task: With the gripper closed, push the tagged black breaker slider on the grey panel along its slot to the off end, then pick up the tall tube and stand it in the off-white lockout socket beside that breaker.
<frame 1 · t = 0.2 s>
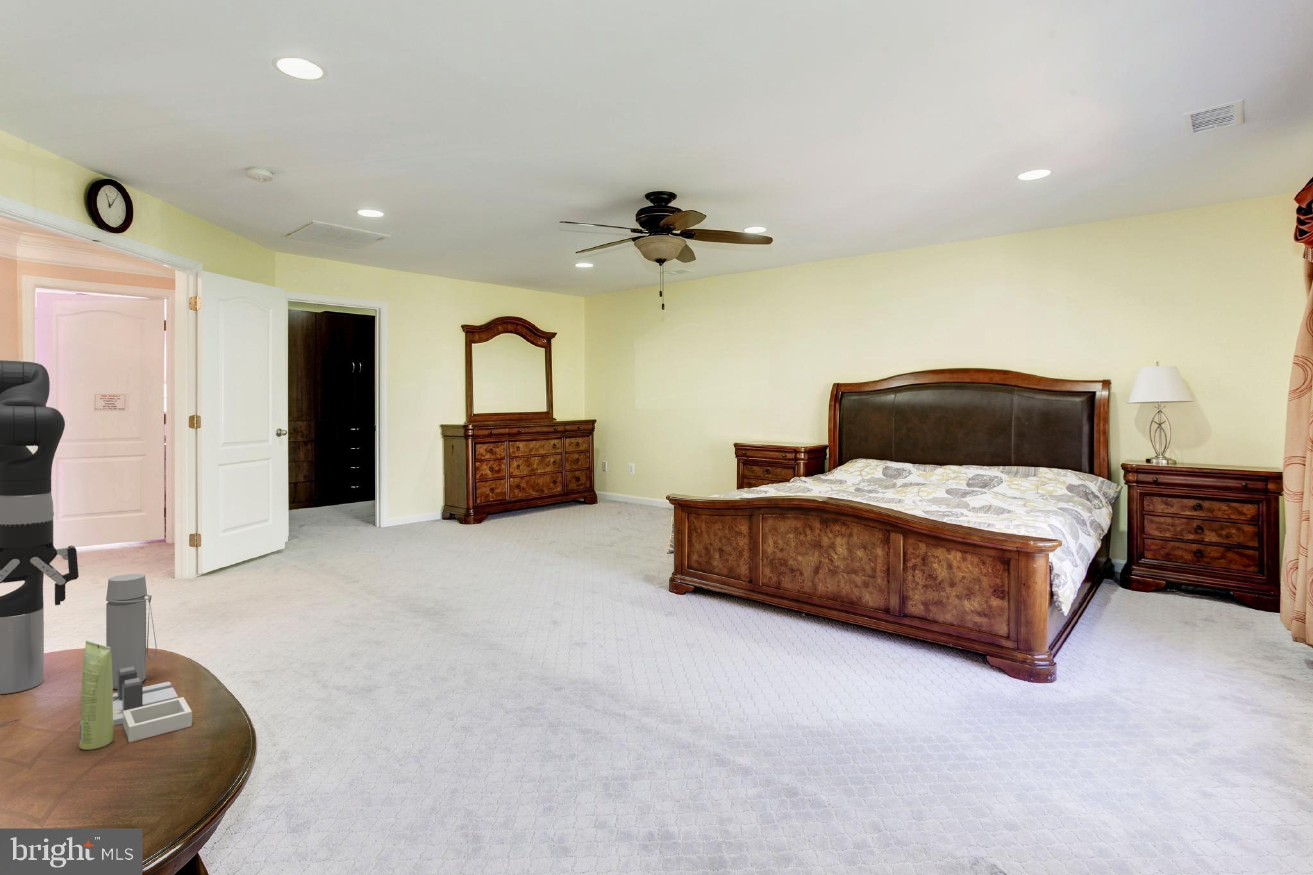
hand: (25, 608, 117), 28 cm above the table, tool pointing down, fingers open, 8 cm apart
breaker panel: (142, 704, 142), on the table
breaker 1: (127, 681, 143), point 4 cm above the table, slide at 0.0 cm
water bottle: (131, 684, 152), on the table
tube: (96, 745, 125), on the table
breaker 2: (132, 694, 137), point 4 cm above the table, slide at 0.0 cm
lockout socket: (157, 725, 133), on the table
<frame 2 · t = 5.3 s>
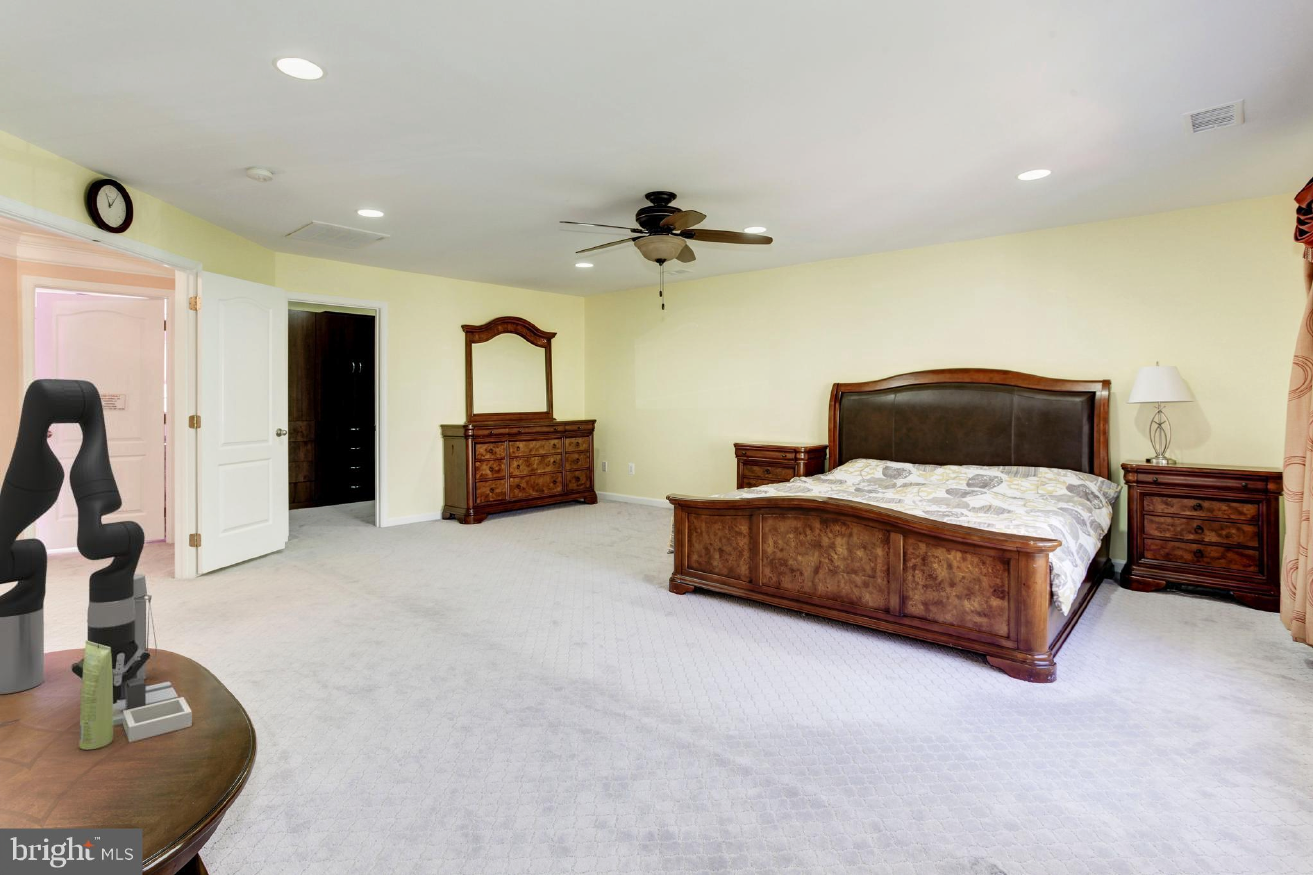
hand: (111, 702, 135), 4 cm above the table, tool pointing down, fingers closed
breaker 2: (135, 693, 137), point 4 cm above the table, slide at 0.5 cm, touching gripper
everything else where it was.
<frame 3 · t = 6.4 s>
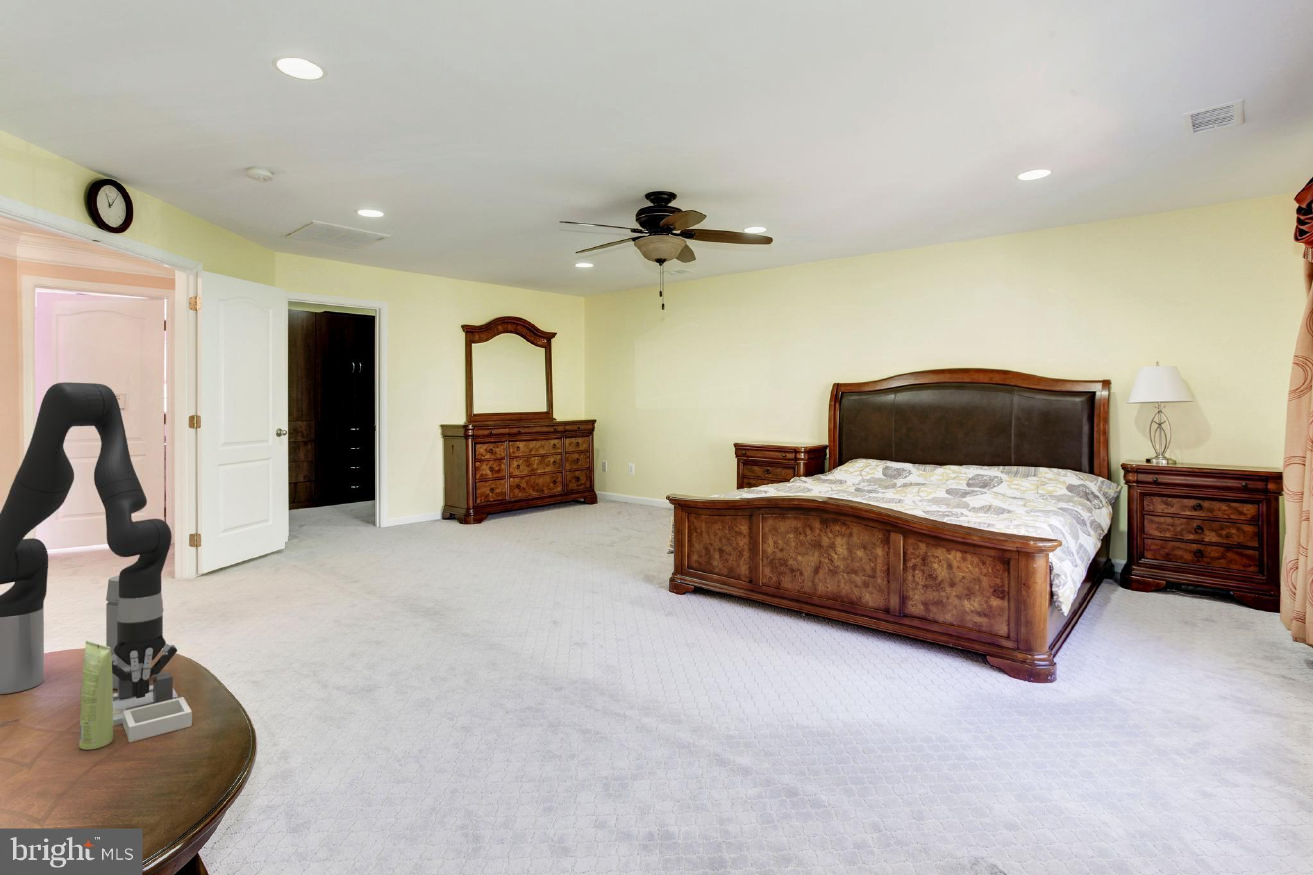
hand: (140, 696, 138), 4 cm above the table, tool pointing down, fingers closed
breaker 2: (162, 687, 141), point 4 cm above the table, slide at 5.1 cm, touching gripper
everything else where it was.
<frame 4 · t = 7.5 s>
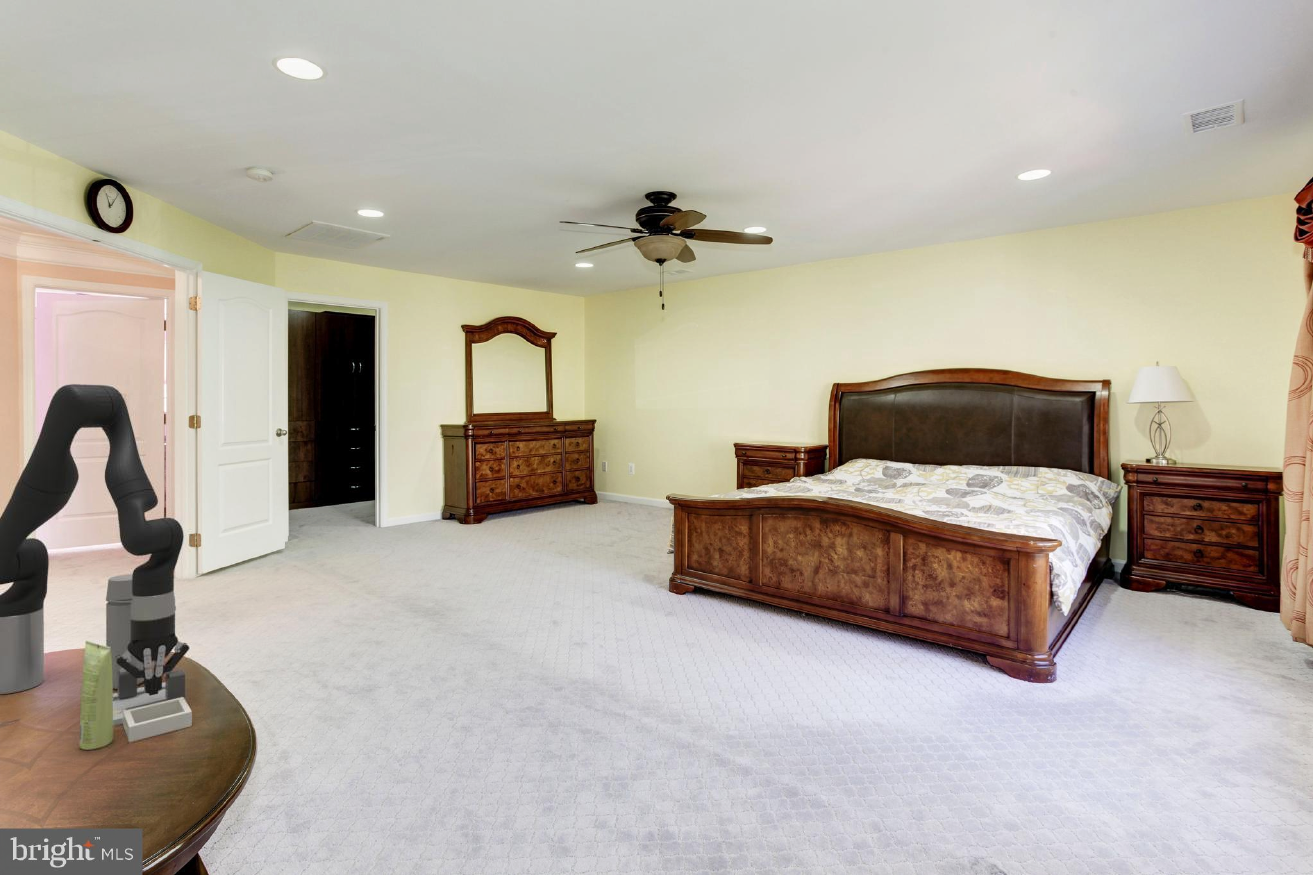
hand: (153, 693, 139), 4 cm above the table, tool pointing down, fingers closed
breaker 2: (175, 684, 142), point 4 cm above the table, slide at 7.3 cm, touching gripper
everything else where it was.
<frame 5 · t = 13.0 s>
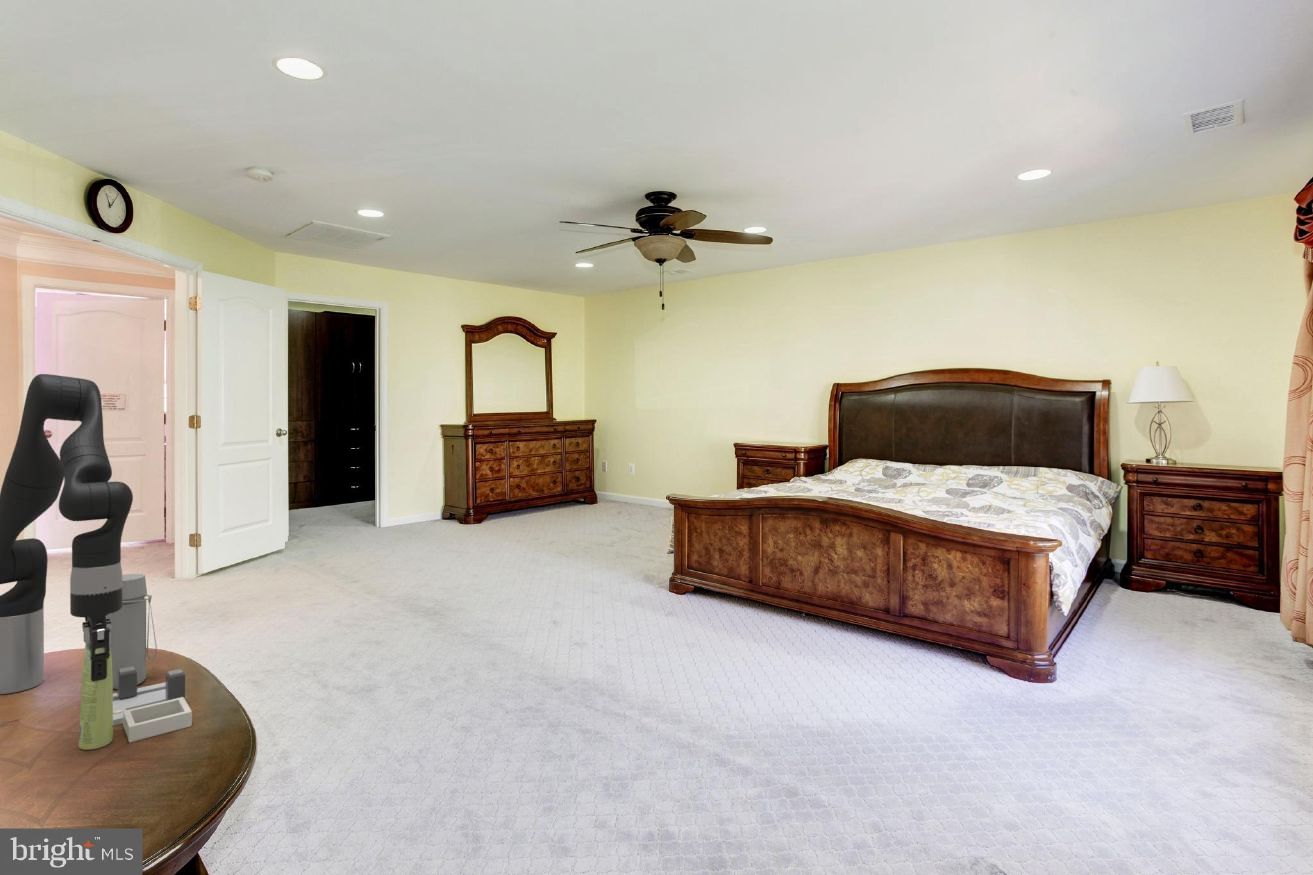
hand: (96, 673, 125), 14 cm above the table, tool pointing down, fingers closed on tube, 6 cm apart
tube: (96, 745, 125), on the table, touching gripper
breaker 2: (175, 684, 142), point 4 cm above the table, slide at 7.3 cm
everything else where it was.
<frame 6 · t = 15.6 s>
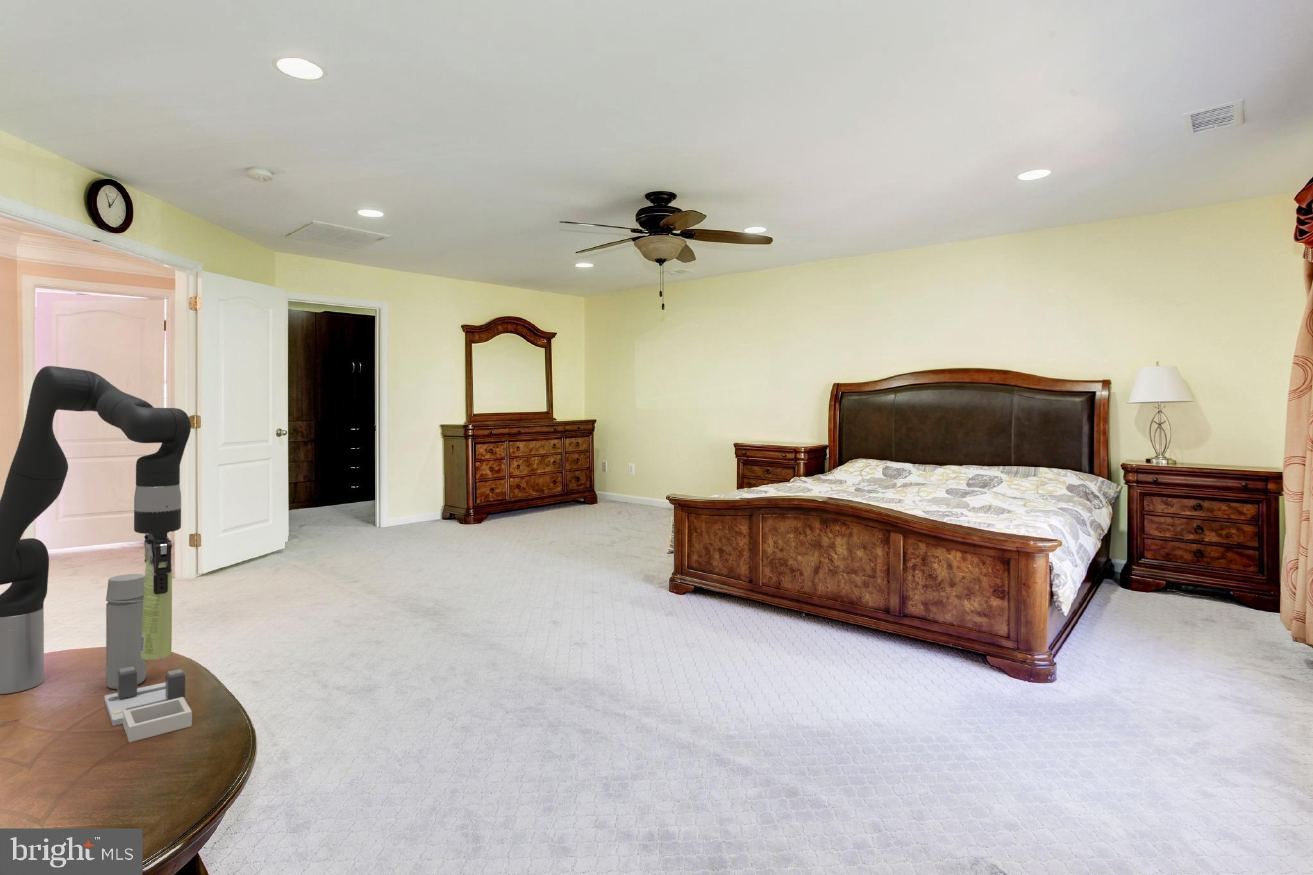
hand: (157, 589, 132), 28 cm above the table, tool pointing down, fingers closed on tube, 6 cm apart
tube: (156, 657, 132), point 14 cm above the table, touching gripper
everything else where it was.
when the fingers open (15 cm above the table, at t = 18.5 s): tube drops 1 cm, resting in lockout socket.
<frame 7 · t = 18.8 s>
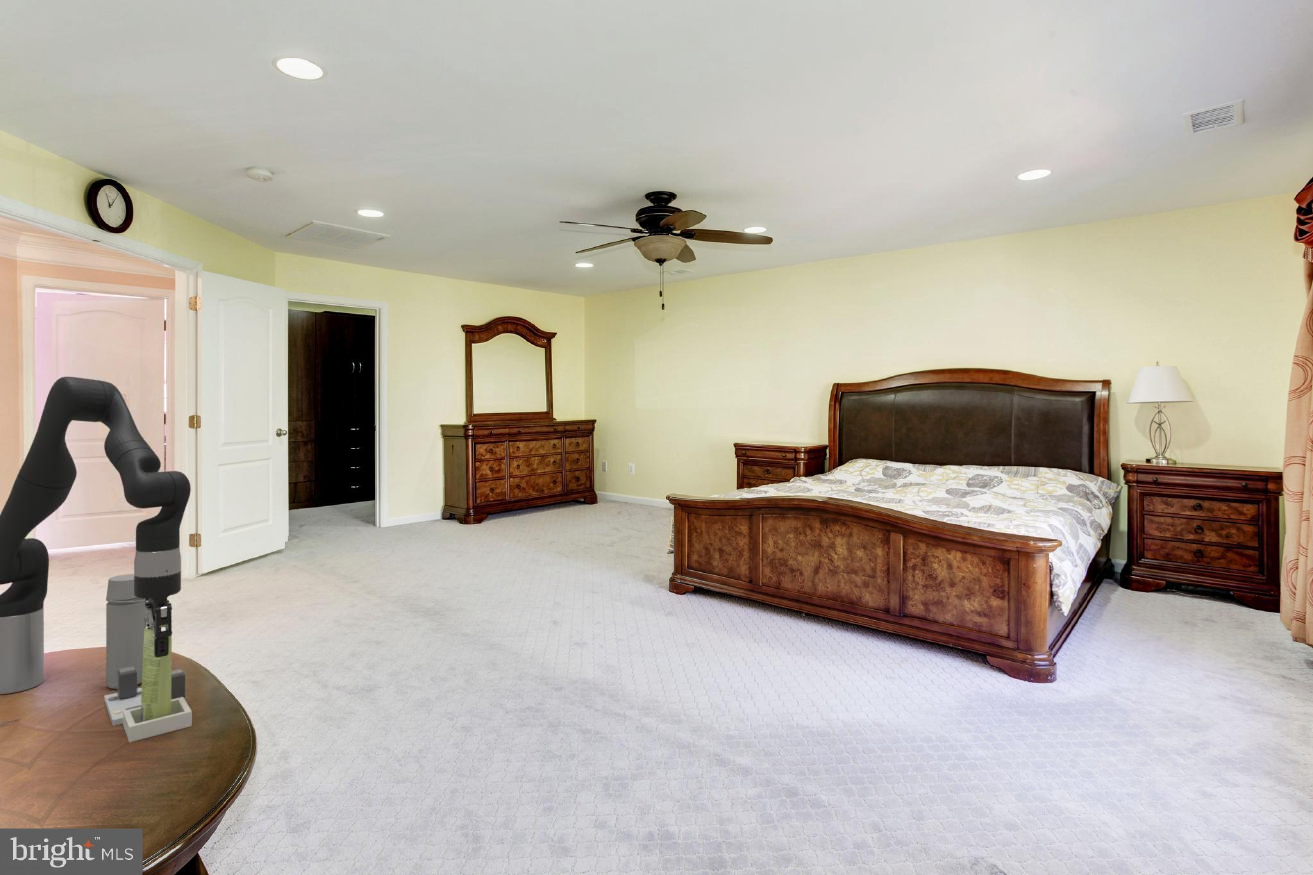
hand: (157, 650, 132), 16 cm above the table, tool pointing down, fingers open, 8 cm apart
tube: (156, 726, 133), resting in lockout socket
everything else where it was.
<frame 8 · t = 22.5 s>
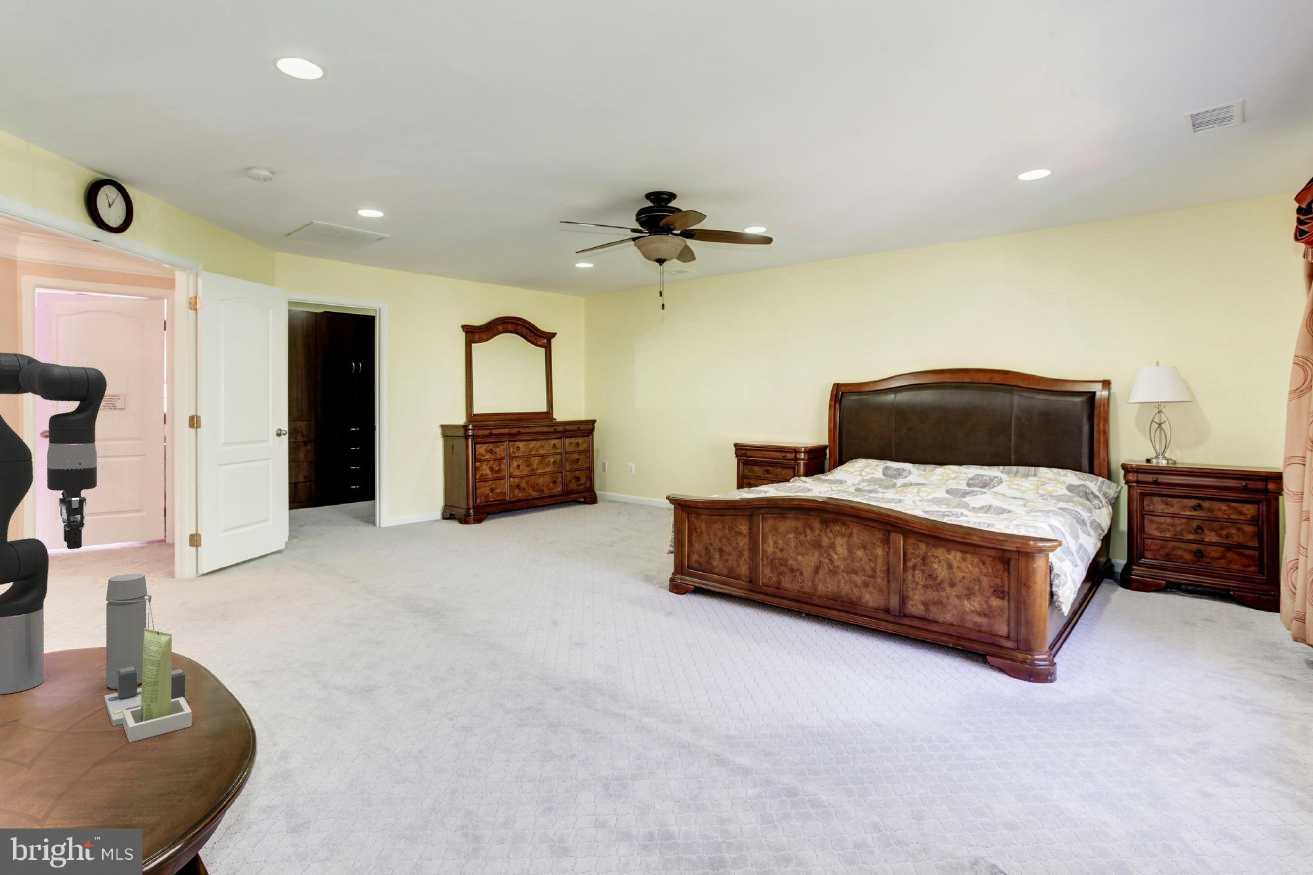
hand: (72, 545, 133), 36 cm above the table, tool pointing down, fingers open, 8 cm apart
nothing on the table moved.
at the end: breaker 2 slide at 7.3 cm; tube 0.3 cm from the lockout socket (horizontally); tube tilted 0° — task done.
